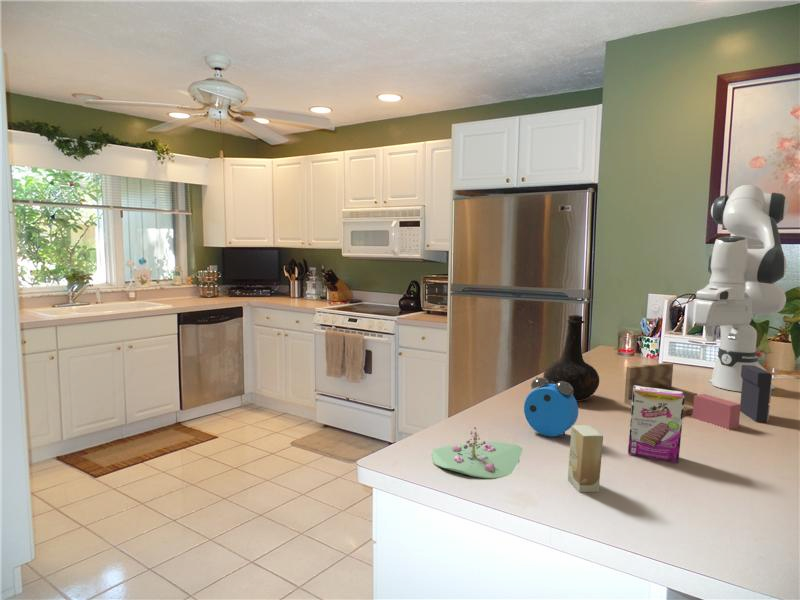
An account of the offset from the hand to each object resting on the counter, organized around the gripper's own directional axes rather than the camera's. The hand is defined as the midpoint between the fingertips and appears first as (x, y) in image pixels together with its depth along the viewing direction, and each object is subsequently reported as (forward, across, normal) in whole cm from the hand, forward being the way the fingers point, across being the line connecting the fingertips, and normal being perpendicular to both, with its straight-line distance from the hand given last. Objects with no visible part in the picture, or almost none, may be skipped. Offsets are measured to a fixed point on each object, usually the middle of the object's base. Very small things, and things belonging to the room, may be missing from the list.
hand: (722, 340), depth 148 cm
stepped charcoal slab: (+25, -17, +1) cm, 30 cm away
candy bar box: (+25, +39, +11) cm, 47 cm away
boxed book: (+25, 0, 0) cm, 25 cm away
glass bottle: (+25, +23, -35) cm, 49 cm away
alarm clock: (+25, +53, -10) cm, 59 cm away
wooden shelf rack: (+24, 0, -16) cm, 29 cm away
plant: (+26, +79, -4) cm, 83 cm away
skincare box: (+25, +67, +17) cm, 73 cm away
